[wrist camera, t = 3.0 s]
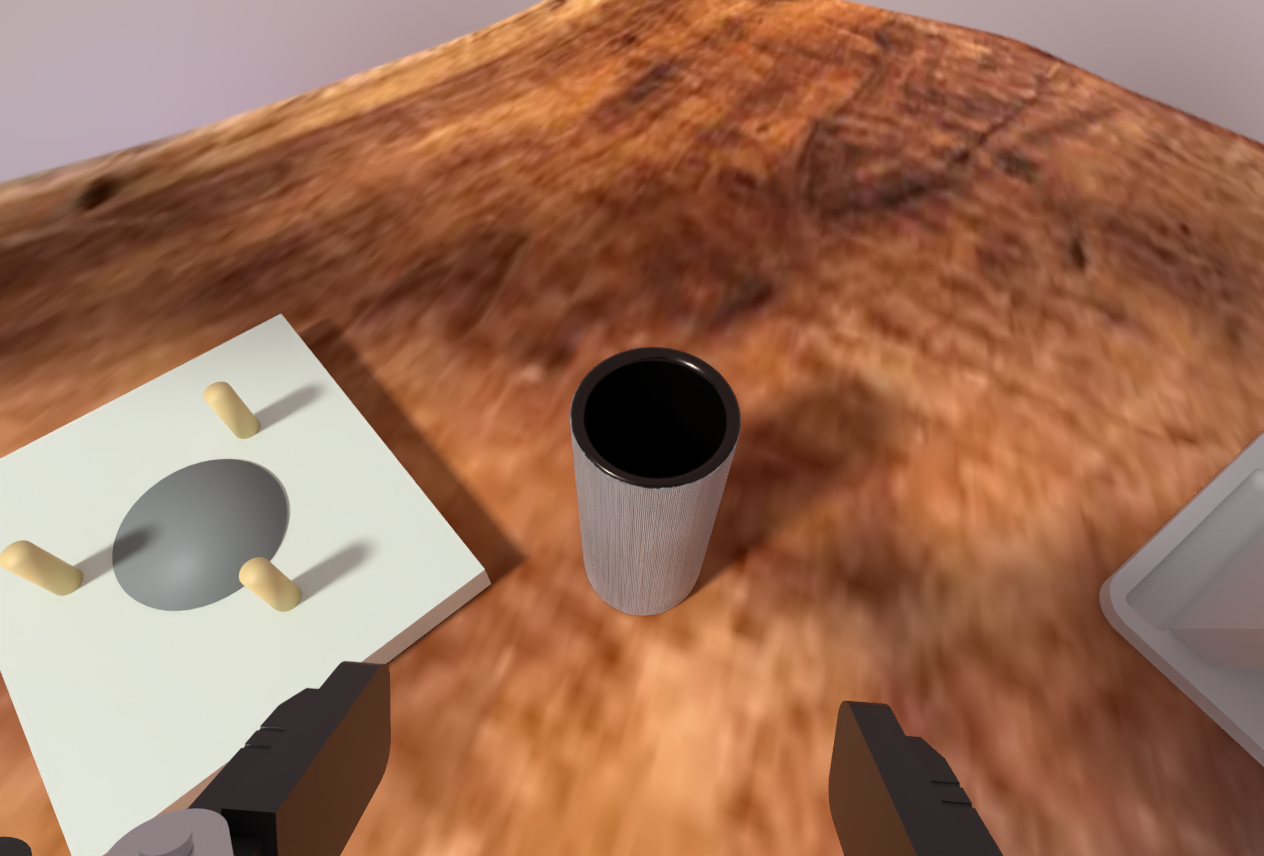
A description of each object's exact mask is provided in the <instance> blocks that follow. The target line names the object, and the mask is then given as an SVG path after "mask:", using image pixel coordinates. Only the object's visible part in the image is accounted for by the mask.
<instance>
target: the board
mask: <svg viewBox="0 0 1264 856" xmlns="http://www.w3.org/2000/svg"><path fill="white" fill-rule="evenodd" d="M489 585H491V582H490V580H489V578H488V575H487V573H486V571H485V569H484V568H483V566H482V565H481V564H480V563H479V561H478V560H477V559H476V558H475V556H474V555H473V554H472V553H471V551H470V550H469V549H468V548H467V546H466V545H465V544H464V543H463V541H462V540H461V539H460V538H459V536H458V535H457V534H456V532H455V531H454V530H453V529H452V527H451V526H450V525H449V524H448V522H447V521H446V520H445V519H444V517H443V516H442V515H441V514H440V512H439V511H438V510H437V509H436V507H435V506H434V505H433V504H432V502H431V501H430V500H429V499H428V497H427V496H426V495H425V494H424V492H423V491H422V490H421V489H420V487H419V486H418V485H417V484H416V482H415V481H414V480H413V479H412V477H411V476H410V475H409V473H408V472H407V471H406V470H405V468H404V467H403V466H402V465H401V463H400V462H399V461H398V460H397V458H396V457H395V456H394V455H393V453H392V452H391V451H390V450H389V448H388V447H387V446H386V445H385V443H384V442H383V441H382V440H381V438H380V437H379V436H378V435H377V433H376V432H375V431H374V430H373V428H372V427H371V426H370V425H369V423H368V422H367V421H366V419H365V418H364V417H363V416H362V414H361V413H360V412H359V411H358V409H357V408H356V407H355V406H354V404H353V403H352V402H351V401H350V399H349V398H348V397H347V396H346V394H345V393H344V392H343V391H342V389H341V388H340V387H339V386H338V384H337V383H336V382H335V381H334V379H333V378H332V377H331V376H330V374H329V373H328V372H327V371H326V369H325V368H324V367H323V366H322V364H321V363H320V362H319V360H318V359H317V358H316V357H315V355H314V354H313V353H312V352H311V350H310V349H309V348H308V347H307V345H306V344H305V343H304V342H303V340H302V339H301V338H300V337H299V335H298V334H297V333H296V332H295V330H294V329H293V328H292V327H291V325H290V324H289V323H288V322H287V320H286V319H285V318H284V317H283V315H282V314H279V315H277V316H275V317H273V318H271V319H270V320H268V321H266V322H264V323H262V324H260V325H258V326H256V327H254V328H252V329H250V330H248V331H246V332H244V333H242V334H241V335H239V336H237V337H235V338H233V339H231V340H229V341H227V342H225V343H223V344H221V345H219V346H217V347H215V348H213V349H212V350H210V351H208V352H206V353H204V354H202V355H200V356H198V357H196V358H194V359H192V360H190V361H188V362H186V363H184V364H182V365H181V366H179V367H177V368H175V369H173V370H171V371H169V372H167V373H165V374H163V375H161V376H159V377H157V378H155V379H153V380H152V381H150V382H148V383H146V384H144V385H142V386H140V387H138V388H136V389H134V390H132V391H130V392H128V393H126V394H124V395H123V396H121V397H119V398H117V399H115V400H113V401H111V402H109V403H107V404H105V405H103V406H101V407H99V408H97V409H95V410H94V411H92V412H90V413H88V414H86V415H84V416H82V417H80V418H78V419H76V420H74V421H72V422H70V423H68V424H66V425H65V426H63V427H61V428H59V429H57V430H55V431H53V432H51V433H49V434H47V435H45V436H43V437H41V438H39V439H37V440H36V441H34V442H32V443H30V444H28V445H26V446H24V447H22V448H20V449H18V450H16V451H14V452H12V453H10V454H8V455H7V456H5V457H3V458H1V459H0V671H1V673H2V676H3V678H4V681H5V684H6V686H7V689H8V691H9V694H10V697H11V699H12V702H13V704H14V707H15V710H16V712H17V715H18V717H19V720H20V723H21V725H22V728H23V730H24V733H25V736H26V738H27V741H28V743H29V746H30V749H31V751H32V754H33V756H34V759H35V761H36V764H37V767H38V769H39V772H40V774H41V777H42V780H43V782H44V785H45V787H46V790H47V793H48V795H49V798H50V800H51V803H52V806H53V808H54V811H55V813H56V816H57V819H58V821H59V824H60V826H61V829H62V832H63V834H64V837H65V839H66V842H67V845H68V847H69V850H70V852H71V855H72V856H106V854H107V853H108V851H109V850H110V849H111V848H112V846H113V845H114V844H115V843H116V842H117V841H118V840H119V839H121V838H122V837H123V836H124V835H125V834H127V833H128V832H130V831H131V830H132V829H134V828H135V827H137V826H139V825H141V824H142V823H144V822H146V821H148V820H150V819H153V818H155V817H157V816H160V815H163V814H166V813H169V812H173V811H177V810H183V809H187V808H188V807H189V806H190V805H191V804H192V803H193V802H194V801H195V799H196V798H197V797H198V796H199V795H200V794H201V793H202V791H203V790H204V789H205V788H206V787H207V786H208V785H209V784H210V782H211V781H212V780H213V779H214V778H215V777H216V776H217V774H218V773H219V772H220V771H221V770H222V769H223V768H224V767H225V765H226V764H227V763H228V762H229V761H230V760H231V759H232V757H233V756H234V755H235V754H236V753H237V752H238V751H239V750H240V748H244V746H245V743H246V742H247V740H248V739H249V738H250V737H251V736H252V735H253V734H254V733H255V731H256V730H260V726H261V725H262V724H263V722H264V721H265V720H266V719H267V718H268V717H269V716H270V714H271V713H272V712H273V711H274V710H275V709H276V708H277V707H278V705H280V704H281V703H283V702H284V701H286V700H288V699H289V698H291V697H293V696H294V695H296V694H297V693H299V692H301V691H302V690H304V689H306V688H315V689H319V688H320V687H321V686H322V684H323V683H324V682H325V681H326V680H327V678H328V677H329V676H330V675H331V673H332V672H333V671H334V670H335V669H336V667H337V666H338V665H339V664H340V663H341V662H343V661H353V662H366V663H379V664H387V663H388V662H389V661H391V660H392V659H393V658H395V657H396V656H397V655H398V654H400V653H401V652H402V651H404V650H405V649H406V648H408V647H409V646H410V645H412V644H413V643H414V642H416V641H417V640H418V639H420V638H421V637H422V636H423V635H425V634H426V633H427V632H429V631H430V630H431V629H433V628H434V627H435V626H437V625H438V624H439V623H441V622H442V621H443V620H444V619H446V618H447V617H448V616H450V615H451V614H452V613H454V612H455V611H456V610H458V609H459V608H460V607H462V606H463V605H464V604H466V603H467V602H468V601H469V600H471V599H472V598H473V597H475V596H476V595H477V594H479V593H480V592H481V591H483V590H484V589H485V588H487V587H488V586H489Z"/></svg>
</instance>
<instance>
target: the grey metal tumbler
mask: <svg viewBox="0 0 1264 856" xmlns="http://www.w3.org/2000/svg"><path fill="white" fill-rule="evenodd" d="M570 426H571V437H572V447H573V457H574V467H575V478H576V488H577V498H578V508H579V518H580V529H581V539H582V549H583V559H584V566H585V570H586V574H587V577H588V580H589V582H590V584H591V586H592V588H593V589H594V591H595V592H596V593H597V594H598V596H599V597H600V598H601V599H602V600H603V601H604V602H606V603H607V604H608V605H610V606H611V607H613V608H615V609H617V610H619V611H621V612H624V613H628V614H632V615H640V616H645V615H655V614H659V613H662V612H665V611H668V610H670V609H672V608H673V607H675V606H677V605H678V604H679V603H681V602H682V601H683V600H684V599H685V598H686V597H687V596H688V595H689V593H690V592H691V591H692V589H693V587H694V585H695V583H696V581H697V579H698V577H699V574H700V571H701V568H702V564H703V561H704V557H705V554H706V550H707V547H708V543H709V540H710V536H711V533H712V529H713V526H714V522H715V519H716V516H717V512H718V509H719V505H720V502H721V498H722V495H723V491H724V488H725V484H726V481H727V477H728V474H729V470H730V467H731V463H732V460H733V456H734V453H735V449H736V446H737V442H738V438H739V434H740V428H741V415H740V408H739V405H738V401H737V399H736V396H735V394H734V392H733V390H732V388H731V387H730V385H729V384H728V382H727V381H726V380H725V379H724V377H723V376H722V375H721V374H720V373H719V372H718V371H717V370H715V369H714V368H713V367H712V366H710V365H709V364H708V363H706V362H704V361H703V360H701V359H699V358H697V357H695V356H693V355H691V354H688V353H685V352H682V351H679V350H674V349H669V348H661V347H645V348H637V349H631V350H627V351H624V352H621V353H618V354H616V355H613V356H611V357H609V358H607V359H606V360H604V361H602V362H601V363H599V364H598V365H597V366H595V367H594V368H593V369H592V370H591V371H590V372H589V373H588V374H587V375H586V376H585V377H584V379H583V380H582V381H581V383H580V384H579V386H578V388H577V390H576V392H575V394H574V397H573V400H572V404H571V409H570Z"/></svg>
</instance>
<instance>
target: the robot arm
mask: <svg viewBox="0 0 1264 856" xmlns="http://www.w3.org/2000/svg"><path fill="white" fill-rule="evenodd" d="M390 743H391V727H390V673H389V668H388V666H387V665H386V664H379V663H366V662H353V661H343V662H341V663H340V664H339V665H338V666H337V667H336V669H335V670H334V671H333V672H332V673H331V675H330V676H329V677H328V678H327V680H326V681H325V682H324V683H323V684H322V686H321V687H320V688H319V689H315V688H306V689H304V690H302V691H301V692H299V693H297V694H296V695H294V696H293V697H291V698H289V699H288V700H286V701H284V702H283V703H281V704H280V705H278V707H277V708H276V709H275V710H274V711H273V712H272V713H271V714H270V716H269V717H268V718H267V719H266V720H265V721H264V722H263V724H262V725H261V726H260V730H256V731H255V733H254V734H253V735H252V736H251V737H250V738H249V739H248V740H247V742H246V743H245V746H244V748H240V750H239V751H238V752H237V753H236V754H235V755H234V756H233V757H232V759H231V760H230V761H229V762H228V763H227V764H226V765H225V767H224V768H223V769H222V770H221V771H220V772H219V773H218V774H217V776H216V777H215V778H214V779H213V780H212V781H211V782H210V784H209V785H208V786H207V787H206V788H205V789H204V790H203V791H202V793H201V794H200V795H199V796H198V797H197V798H196V799H195V801H194V802H193V803H192V804H191V805H190V806H189V807H188V808H187V809H183V810H177V811H173V812H169V813H166V814H163V815H160V816H157V817H155V818H153V819H150V820H148V821H146V822H144V823H142V824H141V825H139V826H137V827H135V828H134V829H132V830H131V831H130V832H128V833H127V834H125V835H124V836H123V837H122V838H121V839H119V840H118V841H117V842H116V843H115V844H114V845H113V846H112V848H111V849H110V850H109V851H108V853H107V854H106V856H340V855H341V853H342V851H343V849H344V847H345V846H346V844H347V842H348V840H349V838H350V836H351V835H352V833H353V831H354V829H355V827H356V826H357V824H358V822H359V820H360V818H361V816H362V815H363V813H364V811H365V809H366V807H367V805H368V804H369V802H370V800H371V798H372V796H373V794H374V793H375V791H376V789H377V787H378V785H379V783H380V782H381V780H382V777H383V775H384V772H385V769H386V766H387V762H388V758H389V752H390ZM829 803H830V810H831V815H832V819H833V822H834V825H835V828H836V831H837V834H838V837H839V840H840V844H841V847H842V850H843V853H844V856H1003V855H1002V853H1001V851H1000V850H999V848H998V846H997V845H996V843H995V841H994V840H993V838H992V836H991V835H990V833H989V831H988V830H987V828H986V826H985V825H984V823H983V821H982V820H981V818H980V816H979V815H978V813H977V811H976V810H975V808H972V803H971V801H970V799H969V798H968V796H967V794H966V793H965V791H964V789H963V788H960V783H959V781H958V779H957V778H956V776H955V774H954V773H953V771H952V769H951V768H950V766H949V764H948V763H947V761H946V759H945V758H944V757H943V756H941V755H940V754H939V753H938V752H937V751H936V750H935V749H933V748H932V747H931V746H930V745H929V744H928V743H927V742H925V741H924V740H923V739H922V738H921V737H912V736H905V734H904V732H903V730H902V728H901V726H900V724H899V723H898V721H897V719H896V717H895V715H894V713H893V712H892V710H891V708H890V707H889V706H888V705H887V704H881V703H868V702H855V701H843V702H842V703H841V705H840V708H839V712H838V719H837V726H836V733H835V740H834V747H833V754H832V761H831V768H830V775H829ZM0 856H32V852H31V848H30V847H29V846H28V844H27V843H25V842H24V841H22V840H20V839H17V838H12V837H0Z"/></svg>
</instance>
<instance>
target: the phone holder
mask: <svg viewBox="0 0 1264 856" xmlns="http://www.w3.org/2000/svg"><path fill="white" fill-rule="evenodd" d="M1099 601H1100V606H1101V609H1102V612H1103V614H1104V616H1105V618H1106V619H1107V621H1108V622H1109V623H1110V625H1111V626H1112V627H1113V628H1114V629H1115V630H1116V631H1117V632H1118V633H1119V634H1120V635H1121V636H1122V637H1123V638H1124V639H1126V640H1127V641H1128V642H1129V643H1130V644H1131V645H1132V646H1133V647H1134V648H1135V649H1136V650H1137V651H1139V652H1140V653H1141V654H1142V655H1143V656H1144V657H1145V658H1146V659H1147V660H1148V661H1149V662H1150V663H1152V664H1153V665H1154V666H1155V667H1156V668H1157V669H1158V670H1159V671H1160V672H1161V673H1162V674H1163V675H1165V676H1166V677H1167V678H1168V679H1169V680H1170V681H1171V682H1172V683H1173V684H1174V685H1175V686H1177V687H1178V688H1179V689H1180V690H1181V691H1182V692H1183V693H1184V694H1185V695H1186V696H1187V697H1188V698H1190V699H1191V700H1192V701H1193V702H1194V703H1195V704H1196V705H1197V706H1198V707H1199V708H1200V709H1201V710H1203V711H1204V712H1205V713H1206V714H1207V715H1208V716H1209V717H1210V718H1211V719H1212V720H1213V721H1214V722H1216V723H1217V724H1218V725H1219V726H1220V727H1221V728H1222V729H1223V730H1224V731H1225V732H1226V733H1227V734H1229V735H1230V736H1231V737H1232V738H1233V739H1234V740H1235V741H1236V742H1237V743H1238V744H1239V745H1240V746H1242V747H1243V748H1244V749H1245V750H1246V751H1247V752H1248V753H1249V754H1250V755H1251V756H1252V757H1253V758H1255V759H1256V760H1257V761H1258V762H1259V763H1260V764H1261V765H1262V766H1263V767H1264V430H1263V431H1262V432H1261V433H1260V434H1259V435H1258V436H1257V437H1256V438H1255V439H1254V440H1253V441H1252V442H1251V443H1250V444H1249V445H1248V446H1246V447H1245V448H1244V449H1243V450H1242V451H1241V452H1240V453H1239V454H1238V455H1237V456H1236V457H1235V458H1234V459H1233V460H1232V461H1231V462H1230V463H1229V464H1228V465H1227V466H1225V467H1224V468H1223V469H1222V470H1221V471H1220V472H1219V473H1218V474H1217V475H1216V476H1215V477H1214V478H1213V479H1212V480H1211V481H1210V482H1209V483H1208V484H1207V485H1205V486H1204V487H1203V488H1202V489H1201V490H1200V491H1199V492H1198V493H1197V494H1196V495H1195V496H1194V497H1193V498H1192V499H1191V500H1190V501H1189V502H1188V503H1187V504H1186V505H1184V506H1183V507H1182V508H1181V509H1180V510H1179V511H1178V512H1177V513H1176V514H1175V515H1174V516H1173V517H1172V518H1171V519H1170V520H1169V521H1168V522H1167V523H1166V524H1165V525H1163V526H1162V527H1161V528H1160V529H1159V530H1158V531H1157V532H1156V533H1155V534H1154V535H1153V536H1152V537H1151V538H1150V539H1149V540H1148V541H1147V542H1146V543H1145V544H1143V545H1142V546H1141V547H1140V548H1139V549H1138V550H1137V551H1136V552H1135V553H1134V554H1133V555H1132V556H1131V557H1130V558H1129V559H1128V560H1127V561H1126V562H1125V563H1124V564H1122V565H1121V566H1120V567H1119V568H1118V569H1117V570H1116V571H1115V572H1114V573H1113V574H1112V575H1111V576H1110V577H1109V578H1108V579H1107V580H1106V581H1105V582H1104V583H1103V585H1102V586H1101V589H1100V593H1099Z"/></svg>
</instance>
